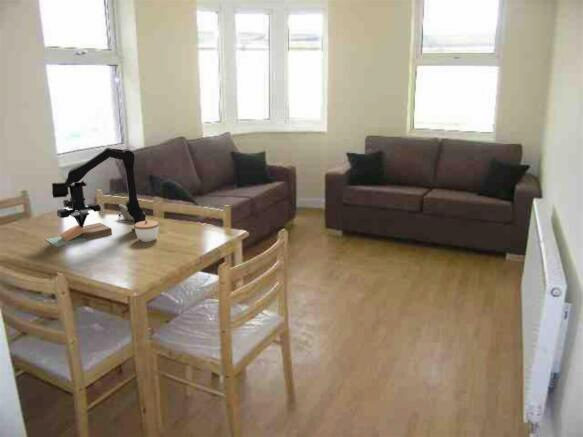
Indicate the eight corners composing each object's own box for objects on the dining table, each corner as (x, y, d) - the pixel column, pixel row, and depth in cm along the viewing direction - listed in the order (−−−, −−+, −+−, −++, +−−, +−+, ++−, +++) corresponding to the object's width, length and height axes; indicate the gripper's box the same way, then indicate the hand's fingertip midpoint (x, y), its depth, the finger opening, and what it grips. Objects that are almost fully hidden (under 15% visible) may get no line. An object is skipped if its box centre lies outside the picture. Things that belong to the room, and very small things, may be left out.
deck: (112, 234, 260) (111, 228, 259) (87, 239, 252) (86, 233, 252) (100, 228, 269) (100, 222, 269) (76, 233, 262) (75, 227, 261)
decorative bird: (133, 224, 277) (132, 210, 274) (116, 218, 287) (115, 205, 285) (142, 221, 280) (141, 207, 278) (126, 216, 291) (124, 203, 289)
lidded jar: (135, 244, 245) (133, 224, 243) (135, 237, 255) (133, 218, 252) (160, 242, 248) (158, 222, 245) (159, 235, 258) (157, 216, 255)
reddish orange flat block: (84, 232, 254) (82, 227, 253) (66, 241, 249) (64, 237, 248) (79, 229, 258) (77, 224, 257) (61, 238, 253) (59, 234, 252)
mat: (87, 240, 252) (87, 239, 252) (56, 247, 243) (56, 246, 243) (75, 233, 262) (75, 232, 262) (45, 239, 253) (45, 239, 253)
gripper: (90, 189, 263) (93, 220, 268) (50, 196, 252) (55, 228, 256) (99, 193, 255) (103, 225, 260) (59, 200, 244) (63, 233, 248)
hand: (81, 227), depth 256 cm, fingers closed
